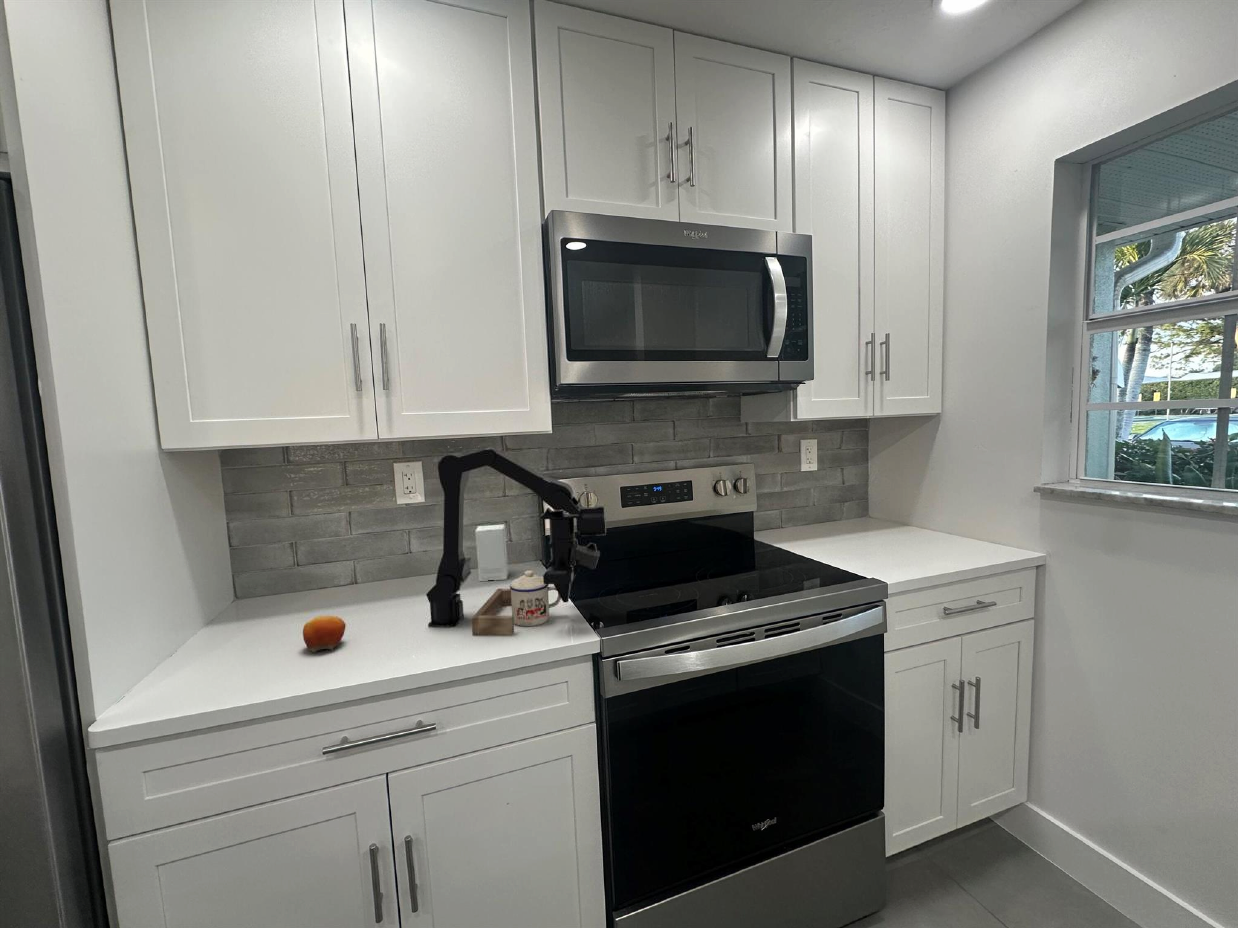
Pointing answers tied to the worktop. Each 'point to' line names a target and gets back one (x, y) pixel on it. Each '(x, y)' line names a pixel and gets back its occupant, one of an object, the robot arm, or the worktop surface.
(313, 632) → the fruit
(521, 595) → the teacup with lid
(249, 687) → the worktop surface
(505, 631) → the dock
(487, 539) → the skincare box
